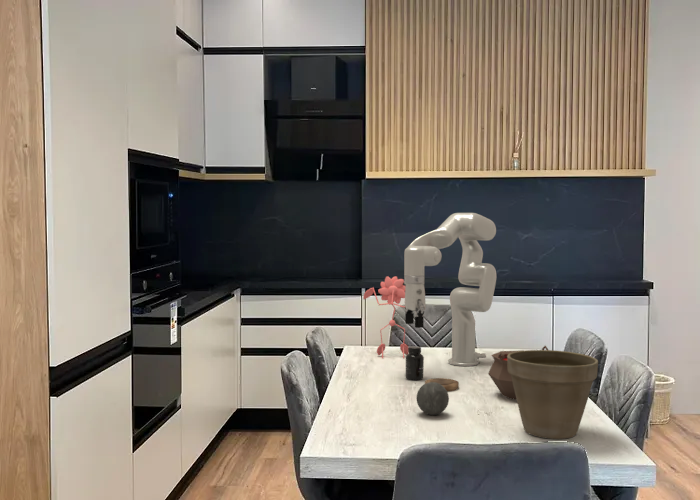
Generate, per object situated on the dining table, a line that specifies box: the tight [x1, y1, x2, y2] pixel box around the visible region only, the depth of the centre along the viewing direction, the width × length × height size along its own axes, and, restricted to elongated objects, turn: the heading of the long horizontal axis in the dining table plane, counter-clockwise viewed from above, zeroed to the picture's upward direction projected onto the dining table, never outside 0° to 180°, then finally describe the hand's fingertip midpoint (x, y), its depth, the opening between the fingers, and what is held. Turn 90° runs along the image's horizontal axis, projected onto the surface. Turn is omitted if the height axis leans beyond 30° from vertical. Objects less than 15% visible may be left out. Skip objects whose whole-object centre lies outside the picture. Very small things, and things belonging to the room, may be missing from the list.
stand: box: [424, 377, 460, 393], centre depth 262 cm, size 12×12×2 cm
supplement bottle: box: [404, 345, 425, 381], centre depth 276 cm, size 7×7×12 cm
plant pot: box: [507, 349, 599, 440], centre depth 208 cm, size 25×25×22 cm
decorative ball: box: [415, 382, 450, 416], centre depth 227 cm, size 10×10×10 cm
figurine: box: [363, 275, 409, 359], centre depth 321 cm, size 15×26×35 cm, turn 88°
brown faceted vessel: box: [487, 345, 549, 401], centre depth 250 cm, size 24×24×16 cm
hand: (414, 325), depth 275 cm, fingers open, 9 cm apart
